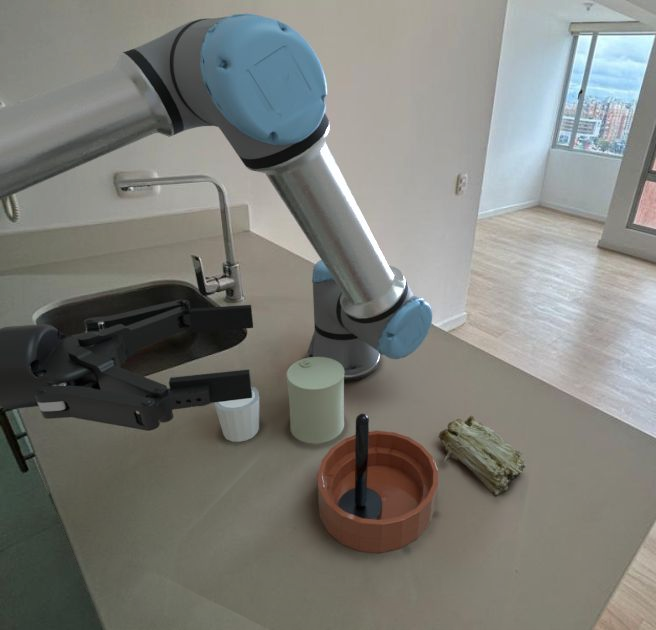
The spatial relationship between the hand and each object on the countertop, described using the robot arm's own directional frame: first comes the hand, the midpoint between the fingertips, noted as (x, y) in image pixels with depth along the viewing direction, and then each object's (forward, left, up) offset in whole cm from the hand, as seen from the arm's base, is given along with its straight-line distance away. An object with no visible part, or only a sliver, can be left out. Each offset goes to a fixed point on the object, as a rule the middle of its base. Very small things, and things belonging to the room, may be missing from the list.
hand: (252, 345), depth 47 cm
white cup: (-13, -16, -28) cm, 35 cm away
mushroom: (-23, +23, -28) cm, 43 cm away
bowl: (-9, +11, -28) cm, 32 cm away
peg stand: (-6, +10, -27) cm, 30 cm away
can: (-19, -5, -28) cm, 34 cm away
